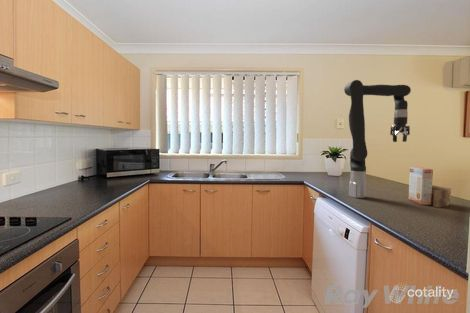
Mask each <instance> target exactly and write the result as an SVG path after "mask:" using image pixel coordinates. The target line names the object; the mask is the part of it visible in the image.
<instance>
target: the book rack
mask: <svg viewBox="0 0 470 313" xmlns="http://www.w3.org/2000/svg"><path fill="white" fill-rule="evenodd" d="M451 190H452V189H451V187H445V186H439V185H433V184H432V196H431V204H433V205H432V206H433V207H434V208H435V207H436V208H442V206H443V207H448V205H450V206H451V194H452V192H451Z"/></svg>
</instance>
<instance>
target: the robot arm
mask: <svg viewBox="0 0 470 313" xmlns="http://www.w3.org/2000/svg"><path fill="white" fill-rule="evenodd" d="M411 91H412V90H411V87H410V85H408V84H396V85H395V84H394V85H393V84H371V85H367V84H366V85H364V84H363V83H362V81H361V80H359V79H354V80H352V81H351V82H348V83H347V84H345V86H344V93H345V95H347V97H350V103H351V104H350V108H349V114H348V126H349V130H350V135H351V139H352V149H351V150H350V156H349V160H350V161H349V165H350V176H349V177H350V178H349V179H350V180H349V183H348V197H351V198H355V199H364V198H366V187H367V186H366V185H367V183H366V182H367V181H366V177H367V166H366V158H367V157H368V149H367V144H366V124H365V120H366V119H365V111H364V96H377V97H378V96H380V97H381V96H382V97H391V96H393V101H394V114H393V124H394V125H390V132H389V134H390V136H392V142H393V143H397V142H398V137H397V136H398V134H401V135H402V142H403V143H406V142H407V139H408V136H410V134H411V133H410V130H411V129H410V125H407V124H408V116H409V114H408V113H409V112H408V105H409V104H408V101H407V100H405V97H406V96H408V95H410V94H411Z"/></svg>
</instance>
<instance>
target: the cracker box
mask: <svg viewBox="0 0 470 313" xmlns="http://www.w3.org/2000/svg"><path fill="white" fill-rule="evenodd" d="M433 173H434V169H431V168H425V167H421V166H420V167H419V166H410V167H409V180H408V197H407V198H408V201H411V202H413V203H416V204H419V205H420V206H431V205H432V202H431V196H432V185H433V178H434V176H433V175H434V174H433Z"/></svg>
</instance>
